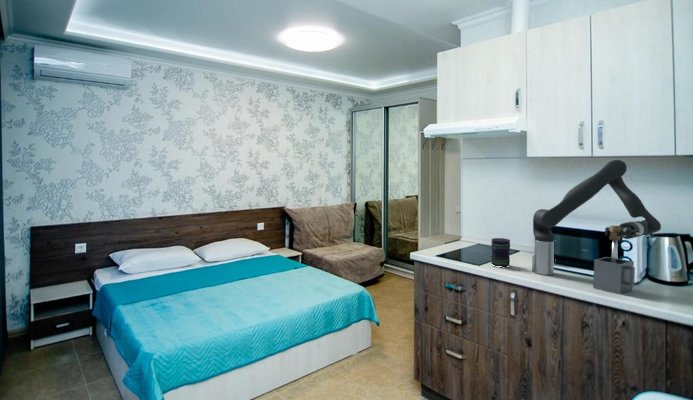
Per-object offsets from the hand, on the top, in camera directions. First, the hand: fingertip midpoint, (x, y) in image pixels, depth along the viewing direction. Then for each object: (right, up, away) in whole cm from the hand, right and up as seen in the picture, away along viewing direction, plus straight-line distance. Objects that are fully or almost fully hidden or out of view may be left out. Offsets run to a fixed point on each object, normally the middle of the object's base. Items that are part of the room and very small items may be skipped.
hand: (612, 233), depth 173 cm
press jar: (+3, -25, +2) cm, 26 cm away
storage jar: (-31, -23, +47) cm, 61 cm away
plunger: (+3, -19, +3) cm, 19 cm away
